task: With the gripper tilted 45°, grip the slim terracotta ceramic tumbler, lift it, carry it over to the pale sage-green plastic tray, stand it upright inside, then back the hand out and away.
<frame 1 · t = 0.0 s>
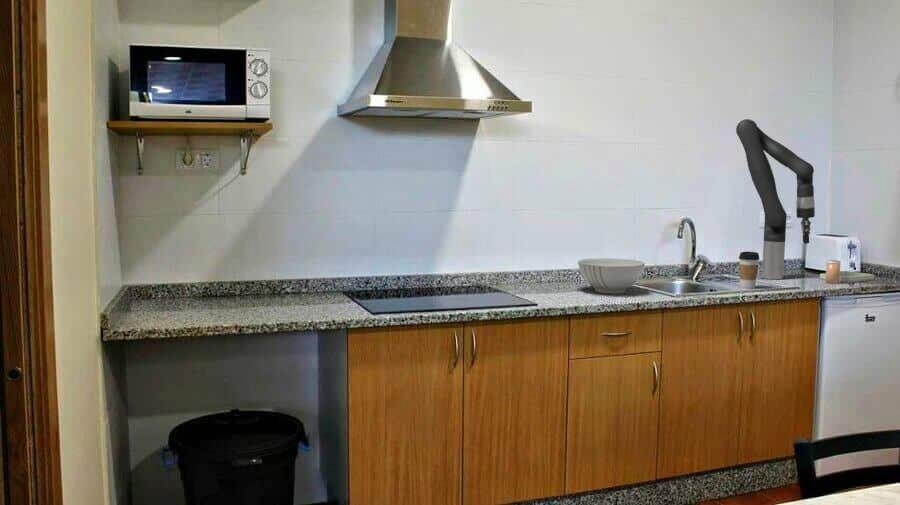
hand: (805, 242, 354), 17 cm above the counter, tool pointing down, fingers open, 8 cm apart
coffee cup: (747, 287, 332), on the counter
decorative bowl: (610, 291, 319), on the counter
tumbler: (832, 283, 346), on the counter
tray: (846, 279, 358), on the counter
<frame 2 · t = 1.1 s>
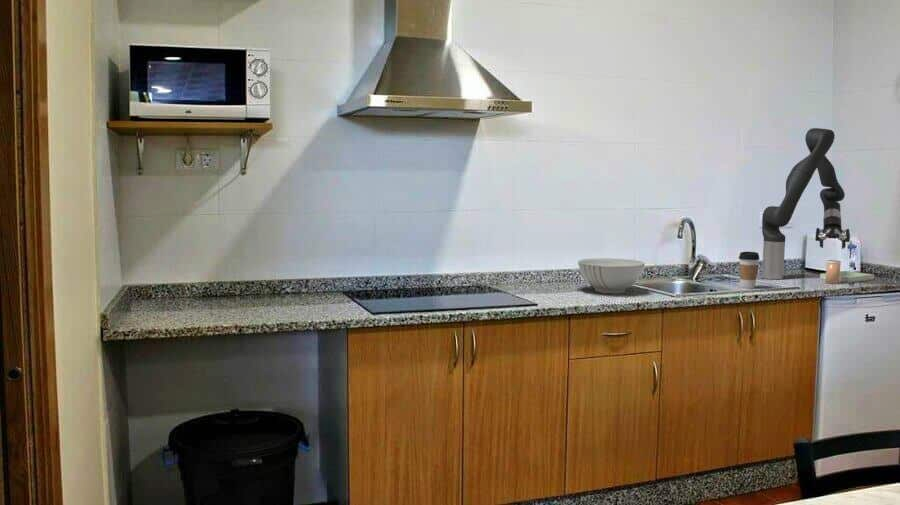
hand: (832, 247, 355), 15 cm above the counter, tool tilted 45°, fingers open, 8 cm apart
nothing on the counter moved.
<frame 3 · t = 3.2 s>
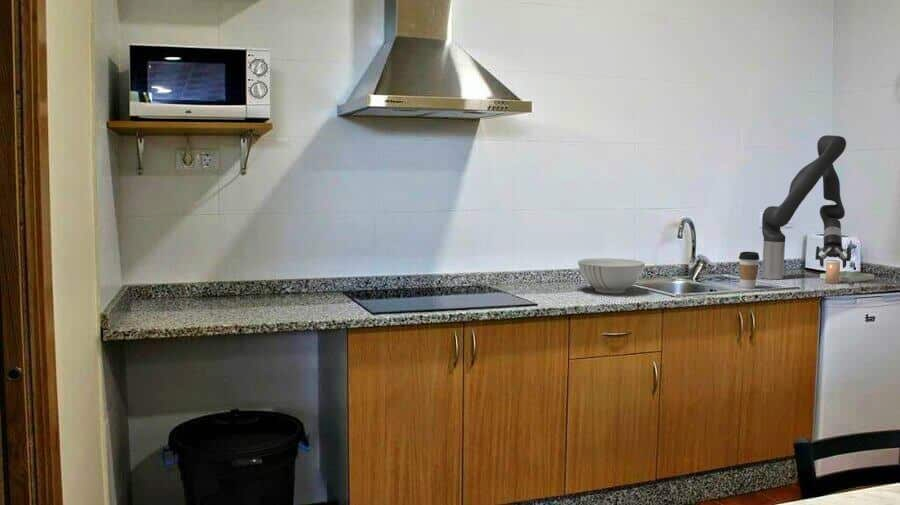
hand: (833, 266, 347), 7 cm above the counter, tool tilted 45°, fingers open, 8 cm apart
nothing on the counter moved.
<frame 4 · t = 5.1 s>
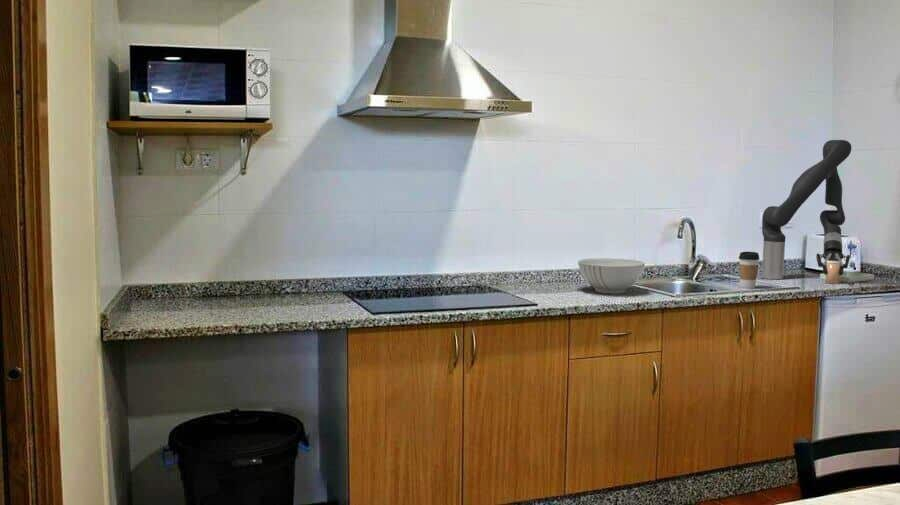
hand: (833, 273, 344), 4 cm above the counter, tool tilted 45°, fingers closed on tumbler, 5 cm apart
tumbler: (832, 283, 346), on the counter, touching gripper
everything else where it was.
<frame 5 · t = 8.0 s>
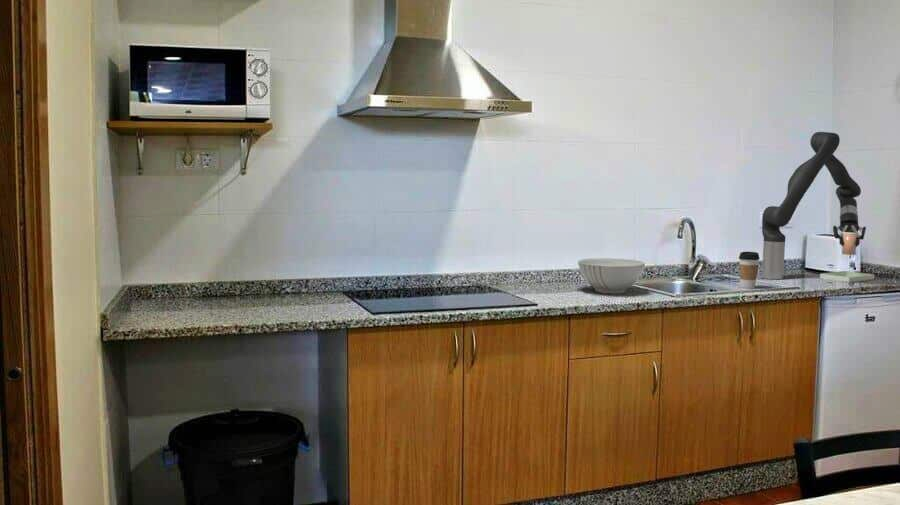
hand: (849, 244, 355), 16 cm above the counter, tool tilted 45°, fingers closed on tumbler, 5 cm apart
tumbler: (848, 254, 357), point 12 cm above the counter, touching gripper
everything else where it was.
when the fingers open (6 cm above the counter, at t = 10.7 s): tumbler drops 1 cm, resting on tray.
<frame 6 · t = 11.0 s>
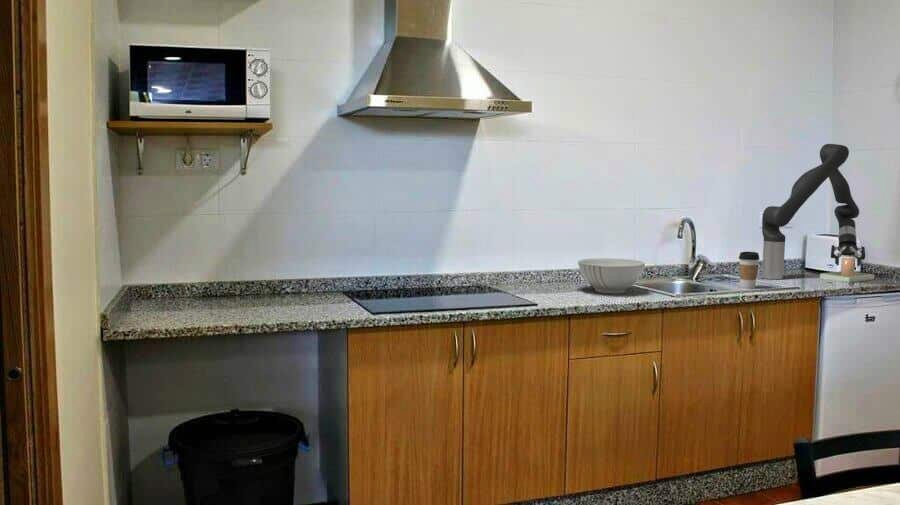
hand: (848, 264, 356), 7 cm above the counter, tool tilted 45°, fingers open, 8 cm apart
tumbler: (847, 278, 358), point 1 cm above the counter, touching tray
everything else where it was.
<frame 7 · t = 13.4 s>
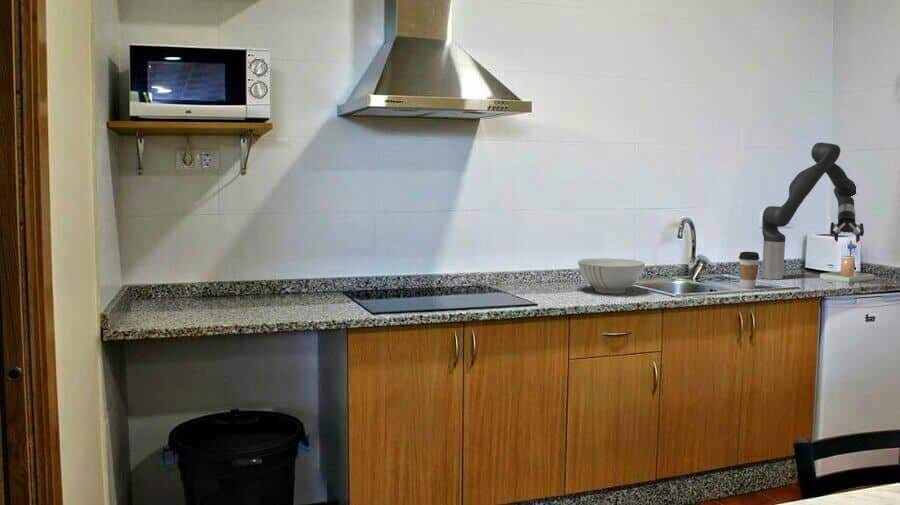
hand: (847, 241, 367), 17 cm above the counter, tool tilted 45°, fingers open, 8 cm apart
nothing on the counter moved.
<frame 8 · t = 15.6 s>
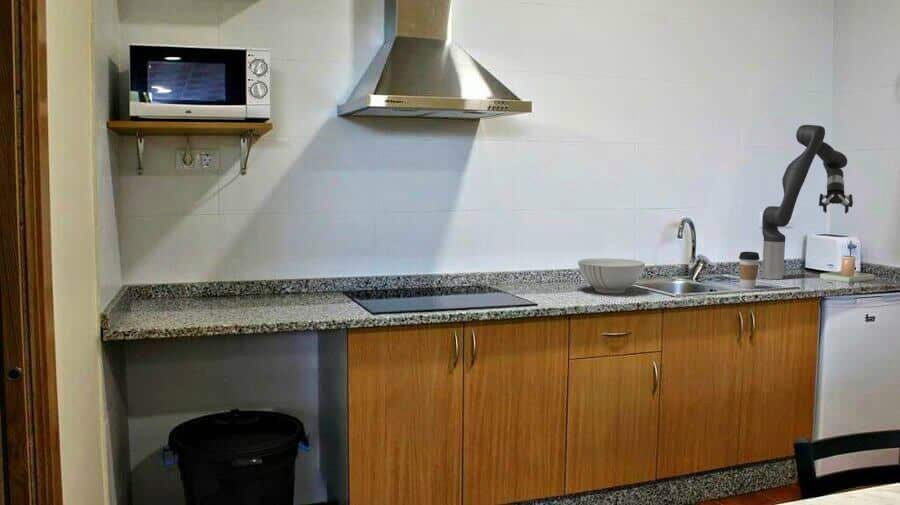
hand: (835, 211, 363), 31 cm above the counter, tool tilted 45°, fingers open, 8 cm apart
nothing on the counter moved.
at the end: tumbler inside the target area on the tray (0.1 cm from its centre), point 0.7 cm above the tray's base; tumbler tilted 2°; the gripper is holding nothing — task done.
